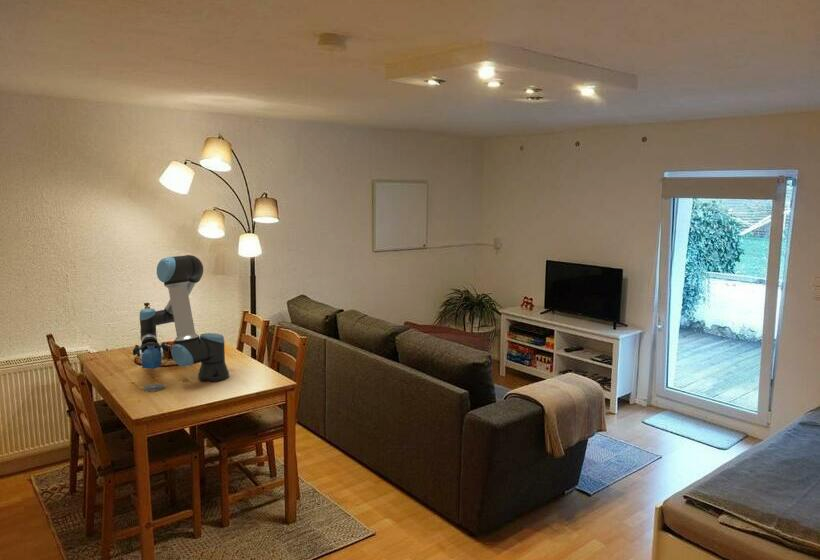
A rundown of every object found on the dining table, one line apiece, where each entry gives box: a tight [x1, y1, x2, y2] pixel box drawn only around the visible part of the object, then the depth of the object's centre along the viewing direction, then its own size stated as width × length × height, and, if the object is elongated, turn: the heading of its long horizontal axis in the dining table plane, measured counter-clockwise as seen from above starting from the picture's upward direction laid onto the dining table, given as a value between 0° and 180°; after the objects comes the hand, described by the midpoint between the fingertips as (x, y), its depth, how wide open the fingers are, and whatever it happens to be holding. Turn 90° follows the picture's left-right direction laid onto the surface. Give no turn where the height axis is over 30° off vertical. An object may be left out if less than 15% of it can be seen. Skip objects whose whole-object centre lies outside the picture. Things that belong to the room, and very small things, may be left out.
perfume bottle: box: [141, 342, 162, 370], centre depth 286 cm, size 6×6×12 cm
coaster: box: [141, 383, 165, 393], centre depth 288 cm, size 10×10×1 cm
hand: (151, 355), depth 281 cm, fingers closed on perfume bottle, 9 cm apart
